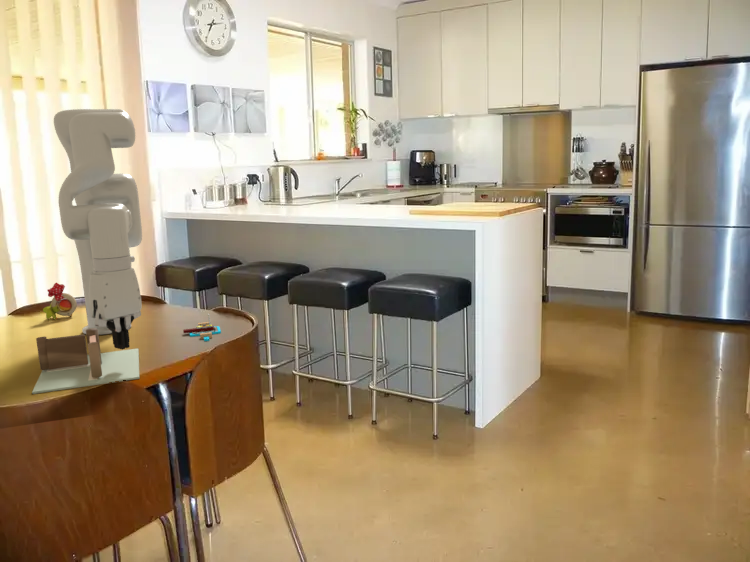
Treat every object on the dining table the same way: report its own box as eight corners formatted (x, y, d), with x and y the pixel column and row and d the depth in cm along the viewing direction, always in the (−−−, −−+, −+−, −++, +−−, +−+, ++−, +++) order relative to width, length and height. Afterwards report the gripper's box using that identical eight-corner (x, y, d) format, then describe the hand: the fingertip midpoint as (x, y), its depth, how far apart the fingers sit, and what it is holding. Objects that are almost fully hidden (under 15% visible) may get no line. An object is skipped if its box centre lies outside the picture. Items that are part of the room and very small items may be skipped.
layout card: (47, 361, 155) (47, 359, 155) (138, 349, 161) (138, 347, 161) (32, 394, 131) (32, 391, 131) (139, 378, 138) (139, 376, 138)
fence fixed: (41, 370, 146) (36, 335, 145) (102, 362, 150) (97, 327, 149) (40, 373, 144) (35, 337, 143) (101, 364, 148) (97, 329, 147)
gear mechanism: (184, 346, 165) (223, 341, 168) (182, 324, 164) (221, 320, 167) (183, 329, 184) (217, 324, 187) (181, 309, 183) (216, 306, 186)
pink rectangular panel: (100, 363, 148) (97, 332, 146) (102, 377, 138) (98, 343, 136) (91, 365, 147) (87, 333, 146) (91, 378, 137) (87, 345, 136)
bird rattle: (72, 321, 209) (41, 312, 206) (83, 288, 209) (53, 279, 206) (69, 325, 203) (38, 317, 200) (81, 291, 203) (49, 282, 200)
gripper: (131, 258, 150) (140, 337, 153) (69, 269, 138) (80, 354, 141) (152, 260, 146) (161, 341, 149) (90, 271, 134) (101, 359, 137)
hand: (122, 347), depth 145 cm, fingers closed
